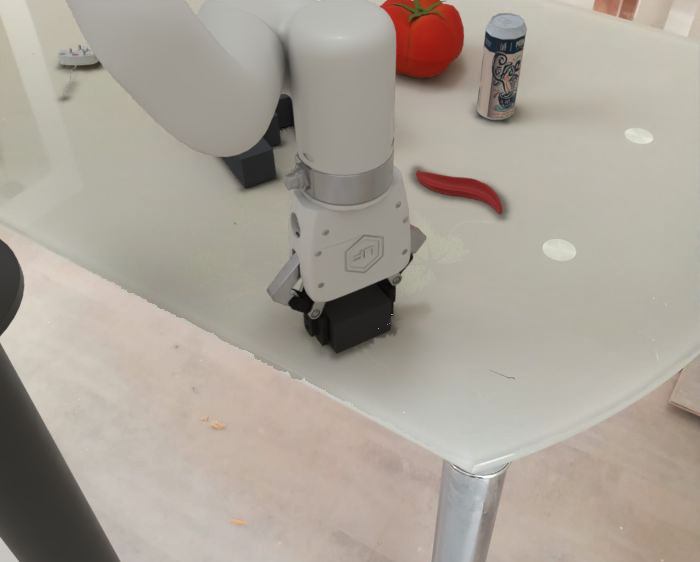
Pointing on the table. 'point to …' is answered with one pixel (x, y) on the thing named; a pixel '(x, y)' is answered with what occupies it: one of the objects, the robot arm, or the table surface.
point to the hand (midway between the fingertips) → (350, 320)
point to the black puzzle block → (357, 317)
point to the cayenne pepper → (460, 188)
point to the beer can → (501, 66)
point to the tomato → (425, 35)
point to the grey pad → (262, 149)
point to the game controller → (77, 57)
